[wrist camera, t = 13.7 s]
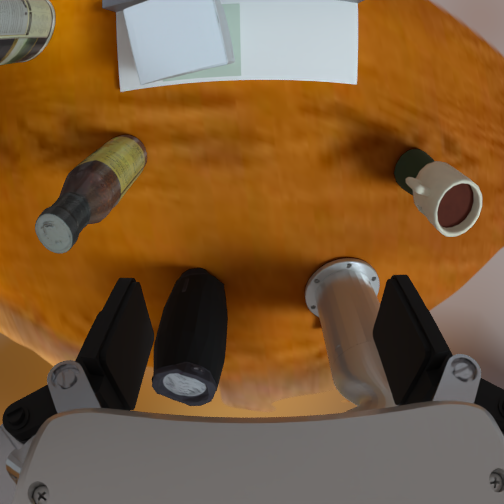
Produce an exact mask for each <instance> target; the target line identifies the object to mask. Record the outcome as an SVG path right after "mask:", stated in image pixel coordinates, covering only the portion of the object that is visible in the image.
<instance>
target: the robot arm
mask: <svg viewBox="0 0 504 504" xmlns="http://www.w3.org/2000/svg"><path fill="white" fill-rule="evenodd" d="M379 286H380V285H379V278H378V275H377V273H376V271H375V270H374V268H373V267H372V266H371V265H370V264H368V263H367V262H365V261H362V260H360V259H355V258H344V259H338V260H335V261H332V262H329V263H327V264H325V265H324V266H322V267H321V268H319V269H318V270H317V271H316V272H315V273H314V274H313V275H312V276H311V278H310V279H309V281H308V283H307V285H306V289H305V299H306V304H307V306H308V308H309V309H310V311H311V312H312V313H313V314H315V315H316V316H318V317H319V318H320V322H321V327H322V331H323V336H324V340H325V345H326V349H327V354H328V359H329V363H330V368H331V372H332V377H333V381H334V384H335V386H336V388H337V390H338V391H339V392H340V393H341V394H342V395H343V396H344V397H345V398H346V399H348V400H349V401H351V402H353V403H354V404H356V405H358V406H357V407H355V408H353V409H350V410H348V411H346V412H344V413H338V414H327V415H313V416H297V417H268V418H230V417H228V418H227V417H226V418H225V417H200V416H184V415H170V414H159V413H148V412H138V411H130V410H134V408H135V405H136V402H137V398H138V394H139V390H140V387H141V383H142V379H143V376H144V372H145V369H146V365H147V362H148V358H149V355H150V351H151V348H152V345H153V341H154V332H153V328H152V325H151V322H150V318H149V315H148V311H147V308H146V304H145V300H144V297H143V293H142V289H141V285H140V283H139V282H136V280H135V279H134V278H119V279H118V281H117V283H116V285H115V287H114V289H113V290H112V292H111V294H110V296H109V298H108V300H107V302H106V304H105V306H104V308H103V310H102V311H100V312H99V314H98V315H97V317H96V319H95V321H94V323H93V325H92V327H91V329H90V331H89V333H88V335H87V338H86V340H85V342H84V344H83V346H82V348H81V350H80V352H79V354H78V357H77V359H76V361H71V360H69V361H63V362H60V363H58V364H57V365H55V366H54V367H53V368H52V369H51V370H50V372H49V374H48V378H47V382H48V385H46V386H44V387H42V388H40V389H39V390H37V391H35V392H33V393H31V394H29V395H27V396H26V397H24V398H22V399H20V400H18V401H16V402H14V403H13V404H11V405H10V406H9V407H8V408H7V409H6V410H5V412H4V415H3V424H2V425H1V426H0V504H504V390H503V389H501V388H499V387H497V386H495V385H493V384H491V383H490V382H488V381H486V380H484V379H482V378H481V370H480V367H479V365H478V364H477V362H476V361H475V360H474V359H473V358H471V357H469V356H467V355H463V354H457V355H454V356H453V355H452V353H451V351H450V349H449V347H448V345H447V344H446V341H445V340H444V338H443V336H442V334H441V332H440V330H439V328H438V326H437V325H436V323H435V321H434V319H433V317H432V316H431V314H430V312H429V310H428V309H427V307H426V306H425V304H424V302H423V300H422V299H421V297H420V295H419V294H418V292H417V290H416V289H415V287H414V285H413V283H412V282H411V280H410V279H409V277H408V276H407V275H393V276H392V277H391V279H388V280H387V282H386V286H385V290H384V293H383V297H382V301H381V304H380V303H379V301H378V298H377V294H378V291H379Z"/></svg>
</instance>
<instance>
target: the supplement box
mask: <svg viewBox="0 0 504 504" xmlns="http://www.w3.org/2000/svg"><path fill="white" fill-rule="evenodd" d="M123 13H124V19H125V23H126V28H127V32H128V37H129V41H130V45H131V50H132V54H133V58H134V62H135V66H136V70H137V73H138V77H139V81H140V85H145V84H148V83H152V82H156V81H160V80H164V79H168V78H174V77H177V76H181V75H185V74H189V73H193V72H197V71H201V70H206V69H210V68H214V67H219V66H223V65H227V64H232V63H234V62H235V57H234V52H233V46H232V41H231V36H230V32H229V28H228V23H227V19H226V15H225V12H224V8H223V6H222V4H221V2H220V0H148V1H145V2H142V3H139V4H136V5H134V6H131V7H128V8H126V9H124V10H123Z"/></svg>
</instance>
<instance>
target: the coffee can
mask: <svg viewBox="0 0 504 504" xmlns="http://www.w3.org/2000/svg"><path fill="white" fill-rule="evenodd" d="M54 27H55V10H54V8H53V6H52V4H51V3H50V1H48V0H0V65H4V64H10V63H17V62H26V61H29V60H31V59H33V58H35V57H36V56H37V55H39V54H40V53H41V52H42V51H43V49H44V48H45V47H46V45H47V44H48V42H49V40H50V38H51V36H52V34H53V31H54Z"/></svg>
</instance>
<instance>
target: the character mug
mask: <svg viewBox="0 0 504 504" xmlns="http://www.w3.org/2000/svg"><path fill="white" fill-rule="evenodd" d="M394 175H395V179H396V182H397V183H398V184H399V186H400V187H401V188H402V189H404V190H405V191H407V192H408V193H410V194H411V195H413V196H414V203H415V205H416V207H417V208H418V210H419V211H420V212H421V213H423V214H424V215H425V216H426V217H427V218H428V220H429V222H430V223H431V224H433V225H434V227H435V228H436V229H437V230H438V231H439V232H441V233H442V234H443V235H445V236H448V237H454V236H458V235H460V234H463V233H465V232H466V231H467V230H468V229H470V228H471V227H472V226H473V225H474V223H475V222H476V220H477V219H478V217H479V215H480V211H481V208H482V194H481V192H480V189H479V187H478V186H477V185H476V184H475V183H474V182H473V181H471V180H470V179H469V178H468V177H466V176H465V175H463V174H462V173H461V172H459V171H458V170H456V169H455V168H453V167H452V166H450V165H449V164H447V163H445V162H439V161H434V160H433V159H432V158H431V157H430V156H429V155H428V154H427V153H425V152H424V151H421V150H419V149H413V150H408V151H407V152H406V153H404V154H403V155H402V156H401V157H400V159H399V160H398V162H397V164H396V167H395V171H394Z"/></svg>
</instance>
